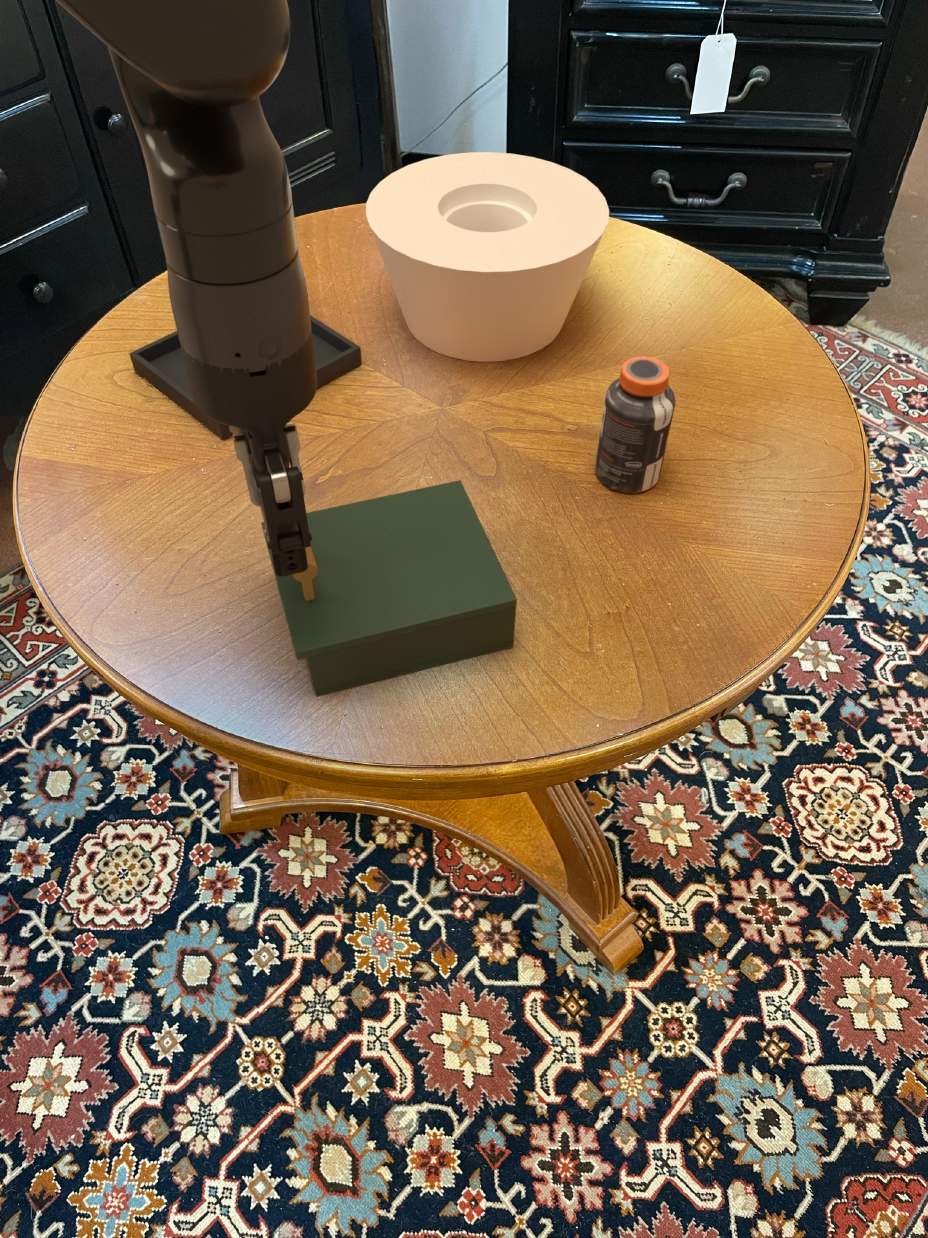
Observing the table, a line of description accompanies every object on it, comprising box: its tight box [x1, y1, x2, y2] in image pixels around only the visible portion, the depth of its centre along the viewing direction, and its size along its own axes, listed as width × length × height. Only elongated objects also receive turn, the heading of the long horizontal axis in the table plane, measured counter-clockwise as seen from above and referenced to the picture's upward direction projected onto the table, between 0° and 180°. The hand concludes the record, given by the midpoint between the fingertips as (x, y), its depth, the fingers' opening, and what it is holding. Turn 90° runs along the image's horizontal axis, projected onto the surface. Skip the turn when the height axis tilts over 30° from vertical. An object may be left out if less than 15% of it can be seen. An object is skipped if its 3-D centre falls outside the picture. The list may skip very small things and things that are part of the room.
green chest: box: [304, 606, 517, 697], centre depth 75 cm, size 16×14×5 cm
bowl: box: [365, 151, 610, 363], centre depth 99 cm, size 24×24×12 cm
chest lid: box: [260, 479, 518, 660], centre depth 71 cm, size 16×14×5 cm
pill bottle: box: [594, 355, 676, 494], centre depth 83 cm, size 6×6×11 cm
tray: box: [128, 314, 363, 441], centre depth 96 cm, size 17×15×2 cm
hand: (279, 528), depth 67 cm, fingers open, 8 cm apart
